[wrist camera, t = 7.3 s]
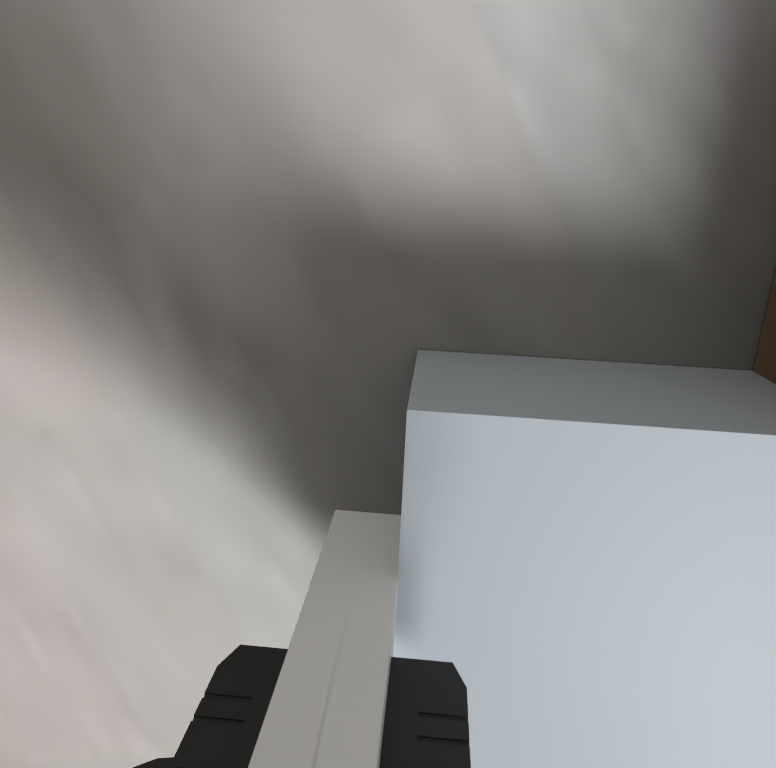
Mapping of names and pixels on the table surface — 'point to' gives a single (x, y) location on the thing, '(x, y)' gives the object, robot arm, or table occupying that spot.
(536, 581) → the block
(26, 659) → the table surface
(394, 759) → the robot arm
